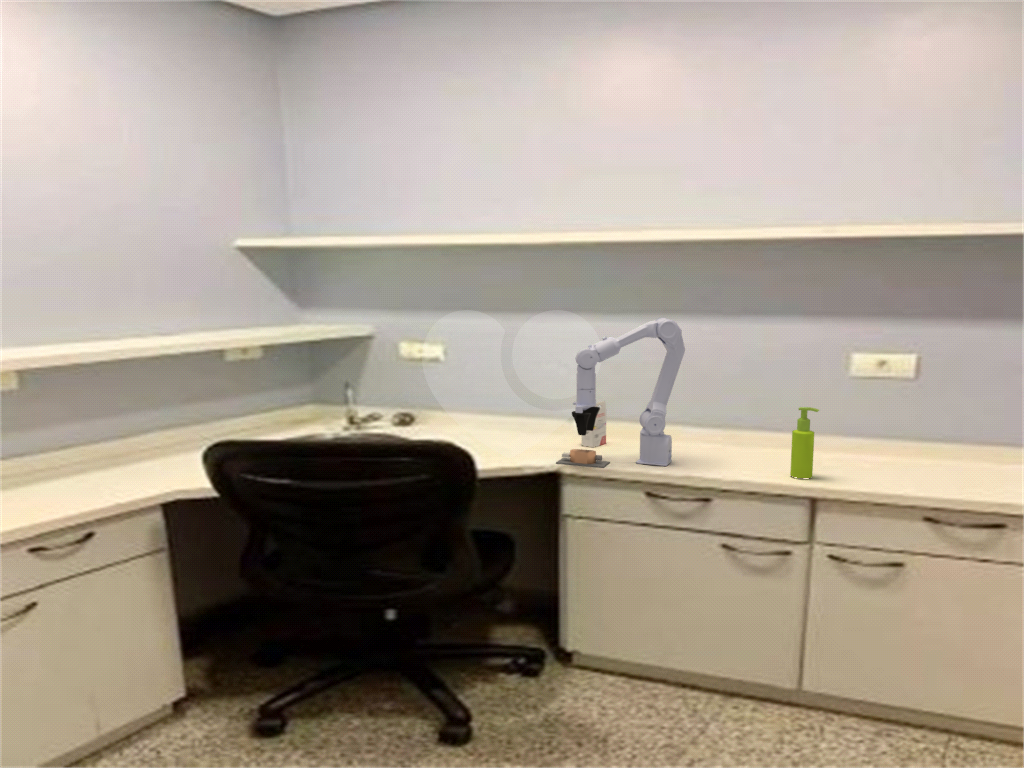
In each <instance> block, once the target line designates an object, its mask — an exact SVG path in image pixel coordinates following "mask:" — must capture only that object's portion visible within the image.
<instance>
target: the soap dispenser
mask: <svg viewBox="0 0 1024 768" xmlns="http://www.w3.org/2000/svg"><path fill="white" fill-rule="evenodd" d="M798 411H800V417H798V418H797V420H796V421H797V422H796V423H797V425H796V426H797V427H796V429H794V430H792V431H791V456H790V474H789V475H791V476H793V477H797V478H811V477H812V478H813V472H814V471H813V470H814V468H813V467H814V446H815V432H814V431H813V430H811V419H810V418H808V411H810V412H815V413H818V412H820V409H818V408H815V407H808V406H800V407H798ZM791 476H790V477H791Z"/></svg>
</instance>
